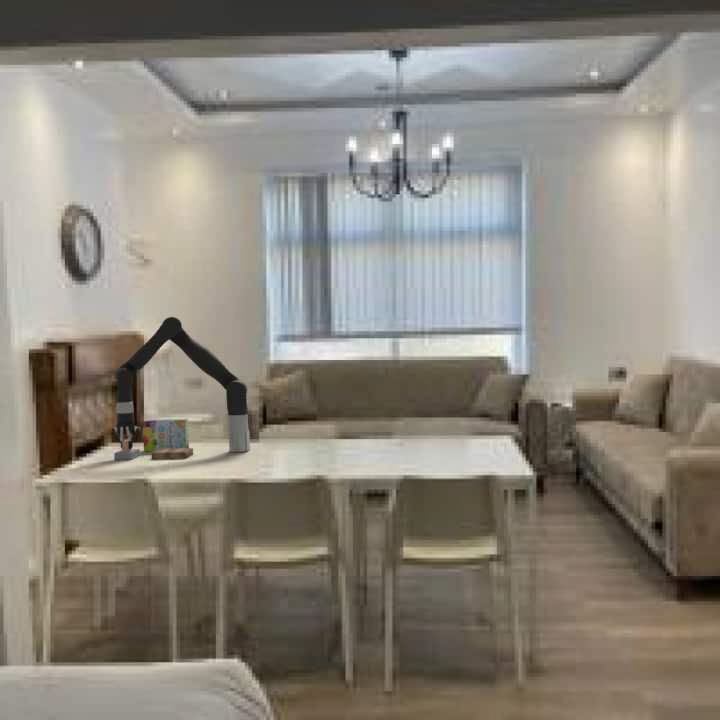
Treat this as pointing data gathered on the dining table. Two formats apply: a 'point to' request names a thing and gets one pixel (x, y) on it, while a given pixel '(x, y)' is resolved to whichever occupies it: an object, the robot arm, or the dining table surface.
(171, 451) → the board
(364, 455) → the dining table surface
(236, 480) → the dining table surface
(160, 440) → the snack box
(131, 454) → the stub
